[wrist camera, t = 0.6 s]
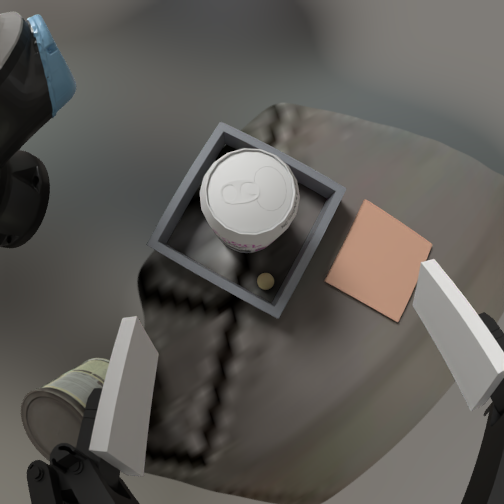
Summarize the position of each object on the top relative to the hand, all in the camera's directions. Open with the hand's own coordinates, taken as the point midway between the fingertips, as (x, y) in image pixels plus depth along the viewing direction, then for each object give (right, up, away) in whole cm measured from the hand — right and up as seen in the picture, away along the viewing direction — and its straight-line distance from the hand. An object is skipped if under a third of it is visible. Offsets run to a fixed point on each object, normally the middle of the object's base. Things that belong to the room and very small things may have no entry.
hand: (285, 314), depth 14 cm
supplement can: (-2, +7, +26) cm, 26 cm away
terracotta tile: (+16, +1, +25) cm, 30 cm away
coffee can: (-22, -17, +24) cm, 36 cm away
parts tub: (-2, +7, +25) cm, 26 cm away
